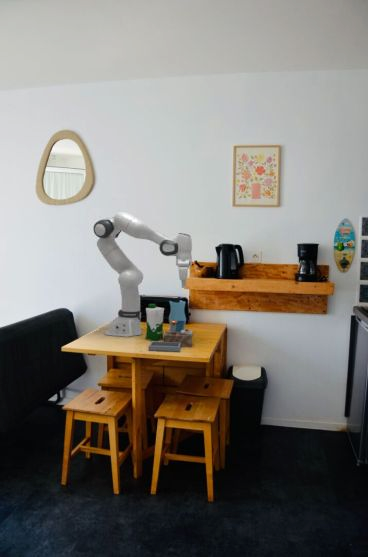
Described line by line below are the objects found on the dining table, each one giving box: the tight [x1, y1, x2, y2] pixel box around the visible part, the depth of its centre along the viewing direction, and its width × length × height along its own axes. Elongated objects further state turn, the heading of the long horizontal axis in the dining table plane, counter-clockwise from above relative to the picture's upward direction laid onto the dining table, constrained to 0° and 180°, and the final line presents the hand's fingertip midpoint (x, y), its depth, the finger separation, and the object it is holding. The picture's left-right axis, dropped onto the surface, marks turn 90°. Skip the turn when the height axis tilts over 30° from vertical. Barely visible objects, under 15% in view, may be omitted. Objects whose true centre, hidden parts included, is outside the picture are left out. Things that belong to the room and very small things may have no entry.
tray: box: [148, 340, 181, 353], centre depth 216 cm, size 16×10×2 cm, turn 87°
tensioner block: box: [162, 328, 194, 348], centre depth 226 cm, size 16×9×9 cm, turn 87°
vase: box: [168, 300, 187, 332], centre depth 249 cm, size 8×8×20 cm
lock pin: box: [169, 320, 177, 334], centre depth 226 cm, size 4×4×12 cm
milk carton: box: [145, 303, 165, 342], centre depth 236 cm, size 9×9×20 cm
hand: (183, 286), depth 232 cm, fingers open, 8 cm apart
